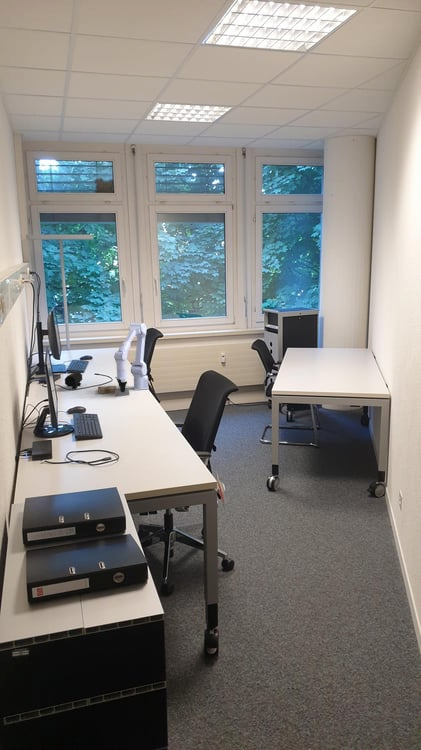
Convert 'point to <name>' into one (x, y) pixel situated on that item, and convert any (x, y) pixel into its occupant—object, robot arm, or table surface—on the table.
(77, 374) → the security camera
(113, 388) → the stand
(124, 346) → the robot arm
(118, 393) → the housing
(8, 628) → the table surface
